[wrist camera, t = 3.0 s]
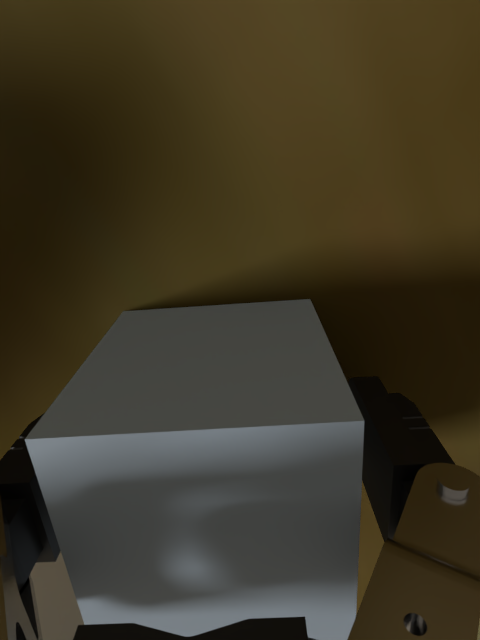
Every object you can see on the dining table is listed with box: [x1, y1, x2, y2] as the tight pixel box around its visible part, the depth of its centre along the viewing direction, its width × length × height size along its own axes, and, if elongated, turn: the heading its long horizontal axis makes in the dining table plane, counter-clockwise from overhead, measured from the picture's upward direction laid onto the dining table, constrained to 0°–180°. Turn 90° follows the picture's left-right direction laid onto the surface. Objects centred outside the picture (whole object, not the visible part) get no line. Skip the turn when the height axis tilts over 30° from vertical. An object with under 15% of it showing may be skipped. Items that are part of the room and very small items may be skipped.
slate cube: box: [25, 299, 364, 640], centre depth 11 cm, size 6×6×6 cm
